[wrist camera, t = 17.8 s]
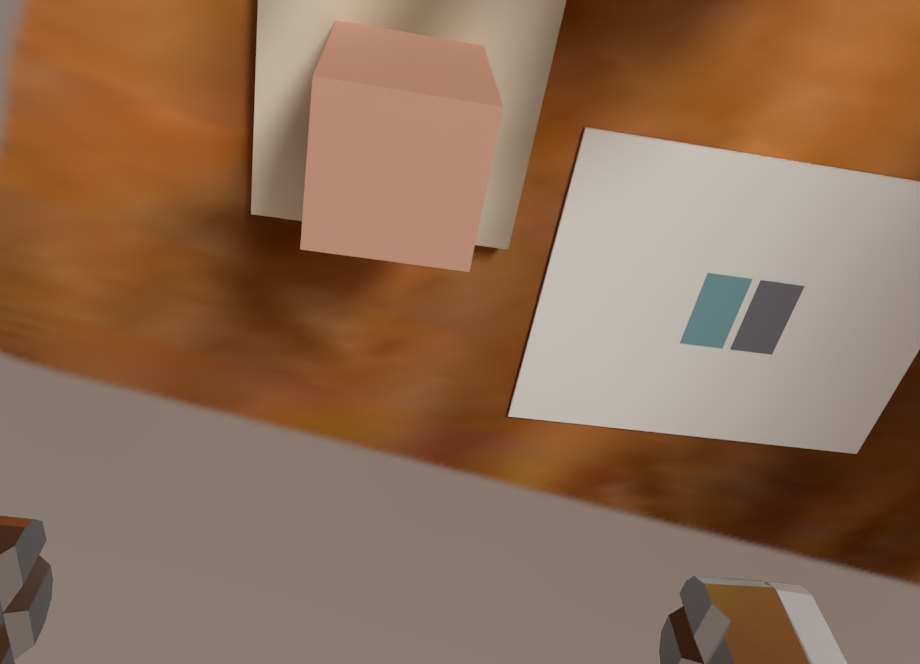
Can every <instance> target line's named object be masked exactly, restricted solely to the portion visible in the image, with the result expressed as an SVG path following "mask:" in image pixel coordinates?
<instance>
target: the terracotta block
mask: <svg viewBox="0 0 920 664" xmlns="http://www.w3.org/2000/svg"><path fill="white" fill-rule="evenodd" d="M502 112H503V104H502V101H501V98H500V95H499V91H498V88H497V85H496V82H495V79H494V76H493V73H492V70H491V67H490V64H489V60H488V57H487V54H486V51H485V48H484V46H483V45H477V44H472V43H466V42H460V41H454V40H449V39H443V38H437V37H431V36H426V35H420V34H414V33H408V32H403V31H397V30H391V29H385V28H380V27H374V26H368V25H362V24H357V23H351V22H345V21H340V20H336V21H335V24H334V26H333V29H332V31H331V33H330V36H329V38H328V40H327V43H326V45H325V48H324V50H323V52H322V55H321V57H320V59H319V62H318V64H317V67H316V69H315V71H314V74H313V77H312V90H311V104H310V118H309V132H308V146H307V160H306V174H305V188H304V202H303V216H302V230H301V244H300V250H308V251H315V252H323V253H330V254H338V255H345V256H353V257H360V258H368V259H375V260H383V261H390V262H398V263H405V264H413V265H421V266H428V267H436V268H443V269H451V270H458V271H466V272H469V271H470V267H471V262H472V257H473V252H474V247H475V242H476V238H477V233H478V228H479V223H480V218H481V214H482V209H483V204H484V199H485V194H486V189H487V185H488V180H489V175H490V170H491V165H492V160H493V156H494V151H495V146H496V141H497V136H498V132H499V127H500V122H501V117H502Z"/></svg>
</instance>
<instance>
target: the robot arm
mask: <svg viewBox="0 0 920 664" xmlns="http://www.w3.org/2000/svg"><path fill="white" fill-rule="evenodd" d="M45 542H46V536H45V532H44V528H43V523H42V521H39V520H34V519H25V518H16V517H8V516H0V664H15V663H14V659H16V658H17V657H19V656H20V655H21V654H23V653H24V652H25V651H27V650H28V649H29V648H31V647H32V646H33V645H35V643H36V641H37V638H38V636H39V634H40V632H41V630H42V627H43V625H44V623H45V620H46V616H47V612H48V609H49V605H50V601H51V596H52V582H53V578H52V572H51V566H50V565H49V564H48V563H47V562H46V561H45V560H44V559H42V557H40V556H39V554H40V552H41V550H42V548H43V546H44V544H45ZM680 596H681V600H682V603H683V607H681V608H680V609H678V610H676V611H675V612H673V613H671V614H670V615H668V618H667V620H666V622H665V624H664V627H663V629H662V631H661V640H660V650H659V652H660V662H661V664H847V662H846V660H845V658H844V656H843V654H842V652H841V651H840V649H839V647H838V645H837V643H836V641H835V639H834V637H833V635H832V633H831V631H830V629H829V627H828V625H827V623H826V621H825V619H824V618H823V615H822V614H821V612H820V610H819V608H818V606H817V604H816V602H815V600H814V598H813V596H812V594H811V593H810V592H809V591H808V590H807V589H806V588H805V587H804V586H803V585H796V584H784V583H773V582H762V581H755V580H742V579H729V578H716V577H702V576H693V577H692V578H690V579H689V580H687V581H686V582H685V584H684V587H683V588H682V590H681V592H680Z"/></svg>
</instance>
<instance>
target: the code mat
mask: <svg viewBox="0 0 920 664" xmlns="http://www.w3.org/2000/svg"><path fill="white" fill-rule="evenodd" d="M919 350H920V181H915V180H909V179H903V178H897V177H891V176H885V175H878V174H872V173H866V172H860V171H854V170H848V169H841V168H835V167H829V166H823V165H817V164H811V163H805V162H798V161H792V160H786V159H780V158H774V157H768V156H761V155H755V154H749V153H743V152H737V151H731V150H724V149H718V148H712V147H706V146H700V145H694V144H688V143H681V142H675V141H669V140H663V139H657V138H651V137H644V136H638V135H632V134H626V133H620V132H614V131H607V130H601V129H595V128H589V127H585V128H584V132H583V136H582V139H581V143H580V147H579V150H578V154H577V158H576V162H575V165H574V169H573V173H572V177H571V180H570V184H569V188H568V191H567V195H566V199H565V203H564V206H563V210H562V214H561V218H560V221H559V225H558V229H557V233H556V236H555V240H554V244H553V247H552V251H551V255H550V259H549V262H548V266H547V270H546V274H545V277H544V281H543V285H542V288H541V292H540V296H539V300H538V303H537V307H536V311H535V315H534V318H533V322H532V326H531V330H530V333H529V337H528V341H527V344H526V348H525V352H524V356H523V359H522V363H521V367H520V371H519V374H518V378H517V382H516V385H515V389H514V393H513V397H512V400H511V404H510V408H509V412H508V416H509V417H518V418H527V419H536V420H546V421H555V422H564V423H574V424H583V425H592V426H602V427H611V428H620V429H629V430H639V431H648V432H657V433H667V434H676V435H685V436H695V437H704V438H713V439H722V440H732V441H741V442H750V443H760V444H769V445H778V446H787V447H797V448H806V449H815V450H825V451H834V452H843V453H853V454H857V453H858V451H859V449H860V448H861V446H862V444H863V443H864V441H865V439H866V438H867V436H868V434H869V433H870V431H871V430H872V428H873V426H874V425H875V423H876V421H877V420H878V418H879V416H880V415H881V413H882V411H883V410H884V408H885V406H886V405H887V403H888V401H889V400H890V398H891V396H892V395H893V393H894V391H895V390H896V388H897V386H898V385H899V383H900V381H901V380H902V378H903V376H904V375H905V373H906V371H907V370H908V368H909V366H910V365H911V363H912V361H913V360H914V358H915V356H916V355H917V353H918V351H919Z"/></svg>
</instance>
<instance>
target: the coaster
mask: <svg viewBox="0 0 920 664" xmlns="http://www.w3.org/2000/svg"><path fill="white" fill-rule="evenodd" d="M565 5H566V0H258V10H257V41H256V72H255V102H254V133H253V164H252V195H251V214H254V215H261V216H268V217H276V218H283V219H290V220H297V221H302V216H303V202H304V188H305V174H306V160H307V146H308V132H309V118H310V104H311V90H312V77H313V74H314V71H315V69H316V67H317V64H318V62H319V59H320V57H321V55H322V52H323V50H324V48H325V45H326V43H327V40H328V38H329V36H330V33H331V31H332V29H333V26H334V24H335V21H336V20H340V21H345V22H351V23H357V24H362V25H368V26H374V27H380V28H385V29H391V30H397V31H403V32H408V33H414V34H420V35H426V36H431V37H437V38H443V39H449V40H454V41H460V42H466V43H472V44H477V45H483V46H484V48H485V51H486V54H487V57H488V60H489V64H490V67H491V70H492V73H493V76H494V79H495V82H496V85H497V88H498V91H499V95H500V98H501V101H502V104H503V112H502V117H501V122H500V127H499V132H498V136H497V141H496V146H495V151H494V156H493V160H492V165H491V170H490V175H489V180H488V185H487V189H486V194H485V199H484V204H483V209H482V214H481V218H480V223H479V228H478V233H477V238H476V242H475V245H479V246H486V247H493V248H500V249H508V248H509V244H510V240H511V235H512V231H513V227H514V223H515V218H516V214H517V210H518V205H519V201H520V197H521V193H522V188H523V184H524V180H525V176H526V171H527V167H528V163H529V158H530V154H531V150H532V146H533V141H534V137H535V133H536V129H537V124H538V120H539V116H540V111H541V107H542V103H543V99H544V94H545V90H546V86H547V82H548V77H549V73H550V69H551V64H552V60H553V56H554V52H555V47H556V43H557V39H558V34H559V30H560V26H561V22H562V17H563V13H564V9H565Z"/></svg>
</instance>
